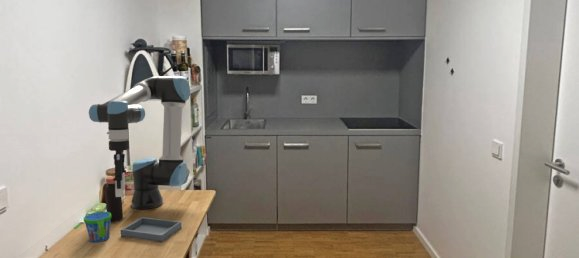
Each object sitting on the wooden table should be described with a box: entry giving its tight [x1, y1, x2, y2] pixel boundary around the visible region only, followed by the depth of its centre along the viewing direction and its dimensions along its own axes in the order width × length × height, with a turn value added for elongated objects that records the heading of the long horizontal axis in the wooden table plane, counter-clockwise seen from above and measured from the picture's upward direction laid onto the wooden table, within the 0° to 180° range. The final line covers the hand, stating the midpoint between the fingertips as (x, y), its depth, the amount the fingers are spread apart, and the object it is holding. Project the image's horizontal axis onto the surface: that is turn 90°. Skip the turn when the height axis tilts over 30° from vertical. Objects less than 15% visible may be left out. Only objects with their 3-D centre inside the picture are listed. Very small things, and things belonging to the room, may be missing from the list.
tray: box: [120, 216, 183, 243], centre depth 193 cm, size 15×20×3 cm
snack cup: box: [83, 211, 112, 243], centre depth 186 cm, size 16×10×10 cm
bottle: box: [104, 175, 124, 223], centre depth 207 cm, size 7×7×20 cm
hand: (120, 192), depth 181 cm, fingers open, 13 cm apart
